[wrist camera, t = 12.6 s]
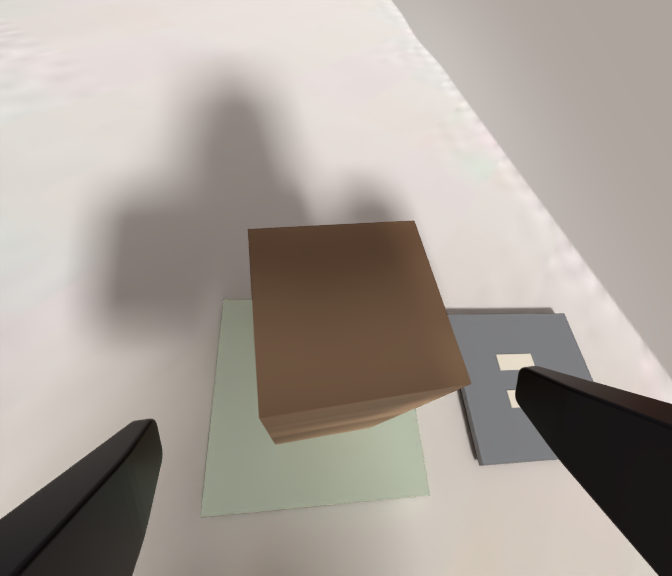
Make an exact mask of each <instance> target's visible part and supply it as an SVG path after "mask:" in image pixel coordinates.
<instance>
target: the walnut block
mask: <svg viewBox="0 0 672 576" xmlns="http://www.w3.org/2000/svg"><path fill="white" fill-rule="evenodd" d="M248 240H249V257H250V274H251V291H252V308H253V325H254V342H255V360H256V377H257V394H258V411H259V419H260V421H261V422H262V424H263V426H264V427H265V429H266V430H267V432H268V434H269V435H270V437H271V439H272V440H273V442H274V443H275V445H277V444H282V443H288V442H294V441H299V440H305V439H310V438H316V437H321V436H327V435H333V434H338V433H344V432H349V431H355V430H361V429H366V428H371V427H373V426H376V425H378V424H380V423H383V422H385V421H387V420H389V419H392V418H394V417H396V416H399V415H401V414H403V413H406V412H408V411H410V410H412V409H415V408H417V407H419V406H422V405H424V404H426V403H429V402H431V401H433V400H435V399H438V398H440V397H442V396H445V395H447V394H449V393H452V392H454V391H456V390H458V389H461V388H463V387H465V386H468V385H470V384H472V383H471V380H470V377H469V375H468V372H467V369H466V366H465V363H464V360H463V358H462V355H461V352H460V349H459V346H458V343H457V341H456V338H455V335H454V332H453V329H452V326H451V324H450V321H449V318H448V315H447V312H446V309H445V306H444V304H443V301H442V298H441V295H440V292H439V289H438V287H437V284H436V281H435V278H434V275H433V272H432V270H431V267H430V264H429V261H428V258H427V255H426V253H425V250H424V247H423V244H422V241H421V238H420V236H419V233H418V230H417V227H416V224H415V221H397V222H377V223H358V224H338V225H319V226H299V227H280V228H260V229H248Z"/></svg>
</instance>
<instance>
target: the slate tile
mask: <svg viewBox="0 0 672 576" xmlns="http://www.w3.org/2000/svg"><path fill="white" fill-rule="evenodd" d="M448 318H449V321H450V324H451V326H452V329H453V332H454V335H455V338H456V341H457V343H458V346H459V349H460V352H461V355H462V358H463V360H464V363H465V366H466V369H467V372H468V375H469V377H470V380H471V383H472V384H470V385H468V386H465V387H463V388H461V391H462V396H463V400H464V404H465V408H466V412H467V416H468V421H469V425H470V429H471V433H472V437H473V441H474V446H475V450H476V454H477V458H478V462H479V465H495V464H507V463H519V462H531V461H543V460H555V459H558V458H557V457H556V455H555V454H554V453H553V451H552V450H551V449H550V447H549V446H548V445H547V443H546V442H545V441H544V439H543V438H542V437H541V435H540V434H539V432H538V431H537V430H536V428H535V427H534V426H533V424H532V423H531V421H530V420H529V419H528V417H527V416H526V415H525V413H524V412H523V410H522V409H521V408H520V406H519V405H518V403H517V401H516V398H515V390H516V384H517V377H518V372H519V370H520V369H521V368H522V367H528V366H540V367H543V368H547V369H550V370H554V371H557V372H561V373H565V374H568V375H572V376H575V377H579V378H582V379H586V380H589V381H593V379H592V377H591V375H590V372H589V370H588V368H587V365H586V363H585V361H584V358H583V356H582V354H581V351H580V349H579V347H578V345H577V342H576V340H575V338H574V335H573V333H572V331H571V328H570V326H569V324H568V321H567V319H566V317H565V314H564V313H559V314H456V315H448Z"/></svg>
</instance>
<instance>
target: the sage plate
mask: <svg viewBox="0 0 672 576" xmlns="http://www.w3.org/2000/svg"><path fill="white" fill-rule="evenodd" d="M429 495H430V491H429V486H428V480H427V474H426V468H425V462H424V456H423V451H422V445H421V439H420V433H419V427H418V421H417V415H416V410H415V409H412V410H410V411H408V412H406V413H403V414H401V415H399V416H396V417H394V418H392V419H389V420H387V421H385V422H383V423H380V424H378V425H376V426H373V427H371V428H366V429H361V430H355V431H349V432H344V433H338V434H333V435H327V436H321V437H316V438H310V439H305V440H299V441H294V442H288V443H282V444H277V445H275V443H274V442H273V440H272V439H271V437H270V435H269V434H268V432H267V430H266V429H265V427H264V426H263V424H262V422H261V421H260V419H259V411H258V394H257V377H256V360H255V342H254V325H253V308H252V299H223V309H222V318H221V328H220V337H219V346H218V356H217V365H216V375H215V384H214V394H213V403H212V413H211V422H210V432H209V441H208V451H207V460H206V470H205V479H204V489H203V498H202V508H201V517H210V516H220V515H231V514H241V513H252V512H262V511H273V510H283V509H293V508H304V507H314V506H325V505H335V504H346V503H356V502H366V501H377V500H387V499H398V498H408V497H419V496H429Z"/></svg>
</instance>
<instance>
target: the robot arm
mask: <svg viewBox="0 0 672 576" xmlns="http://www.w3.org/2000/svg"><path fill="white" fill-rule="evenodd" d="M515 398H516V401H517V403H518V405H519V406H520V408H521V409H522V410H523V412H524V413H525V415H526V416H527V417H528V419H529V420H530V421H531V423H532V424H533V426H534V427H535V428H536V430H537V431H538V432H539V434H540V435H541V437H542V438H543V439H544V441H545V442H546V443H547V445H548V446H549V447H550V449H551V450H552V451H553V453H554V454H555V455H556V457H557V458H558V459H559V460H560V461H561V463H562V464H563V465H564V466H565V467H566V468H567V470H568V471H569V472H570V473H571V474H572V475H573V477H574V478H575V479H576V480H577V481H578V482H579V484H580V485H581V486H582V487H583V488H584V489H585V491H586V492H587V493H588V494H589V495H590V496H591V498H592V499H593V500H594V501H595V502H596V503H597V505H598V506H599V507H600V508H601V509H602V510H603V512H604V513H605V514H606V515H607V516H608V517H609V519H610V520H611V521H612V522H613V523H614V524H615V526H616V527H617V528H618V529H619V530H620V531H621V532H622V534H623V535H624V536H625V537H626V538H627V539H628V541H629V542H630V543H631V544H632V545H633V546H634V548H635V549H636V550H637V551H638V552H639V553H640V555H641V556H642V557H643V558H644V559H645V560H646V562H647V563H648V564H649V565H650V566H651V567H652V569H653V570H654V571H655V572H656V573H657V574H658V576H672V404H670V403H667V402H663V401H659V400H656V399H652V398H649V397H645V396H642V395H638V394H635V393H631V392H628V391H624V390H621V389H617V388H614V387H610V386H607V385H603V384H600V383H596V382H593V381H589V380H586V379H582V378H579V377H575V376H572V375H568V374H565V373H561V372H557V371H554V370H550V369H547V368H543V367H540V366H528V367H522V368H521V369H520V370H519V372H518V377H517V384H516V390H515ZM161 463H162V446H161V441H160V437H159V432H158V427H157V423H156V421H155V420H154V419H145V420H137V421H133V422H131V423H130V424H128V425H127V426H126V427H124V428H123V429H122V430H120V431H119V432H118V433H116V434H115V435H114V436H112V437H111V438H109V439H108V440H107V441H105V442H104V443H103V444H101V445H100V446H99V447H97V448H96V449H95V450H93V451H92V452H91V453H89V454H88V455H86V456H85V457H84V458H82V459H81V460H80V461H78V462H77V463H76V464H74V465H73V466H72V467H70V468H69V469H68V470H66V471H65V472H64V473H62V474H61V475H59V476H58V477H57V478H55V479H54V480H53V481H51V482H50V483H49V484H47V485H46V486H45V487H43V488H42V489H41V490H39V491H38V492H36V493H35V494H34V495H32V496H31V497H30V498H28V499H27V500H26V501H24V502H23V503H22V504H20V505H19V506H18V507H16V508H15V509H13V510H12V511H11V512H9V513H8V514H7V515H5V516H4V517H3V518H1V519H0V576H132V574H133V571H134V568H135V565H136V562H137V559H138V556H139V553H140V550H141V547H142V543H143V540H144V537H145V533H146V529H147V525H148V520H149V516H150V511H151V507H152V503H153V498H154V494H155V489H156V485H157V480H158V476H159V471H160V467H161Z"/></svg>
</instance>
